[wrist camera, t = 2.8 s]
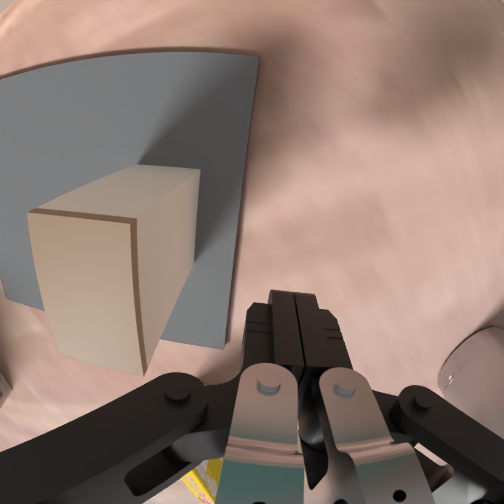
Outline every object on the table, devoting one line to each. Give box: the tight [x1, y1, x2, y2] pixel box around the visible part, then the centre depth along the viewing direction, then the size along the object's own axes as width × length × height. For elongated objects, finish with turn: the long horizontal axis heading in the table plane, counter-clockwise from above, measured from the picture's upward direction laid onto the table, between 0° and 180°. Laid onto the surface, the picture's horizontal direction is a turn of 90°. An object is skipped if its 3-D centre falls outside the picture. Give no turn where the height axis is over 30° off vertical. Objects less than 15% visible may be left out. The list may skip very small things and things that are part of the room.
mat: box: [0, 52, 260, 349], centre depth 18 cm, size 22×20×1 cm
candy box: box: [181, 384, 224, 504], centre depth 24 cm, size 16×2×8 cm, turn 6°
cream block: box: [27, 164, 201, 377], centre depth 13 cm, size 4×6×10 cm, turn 173°
